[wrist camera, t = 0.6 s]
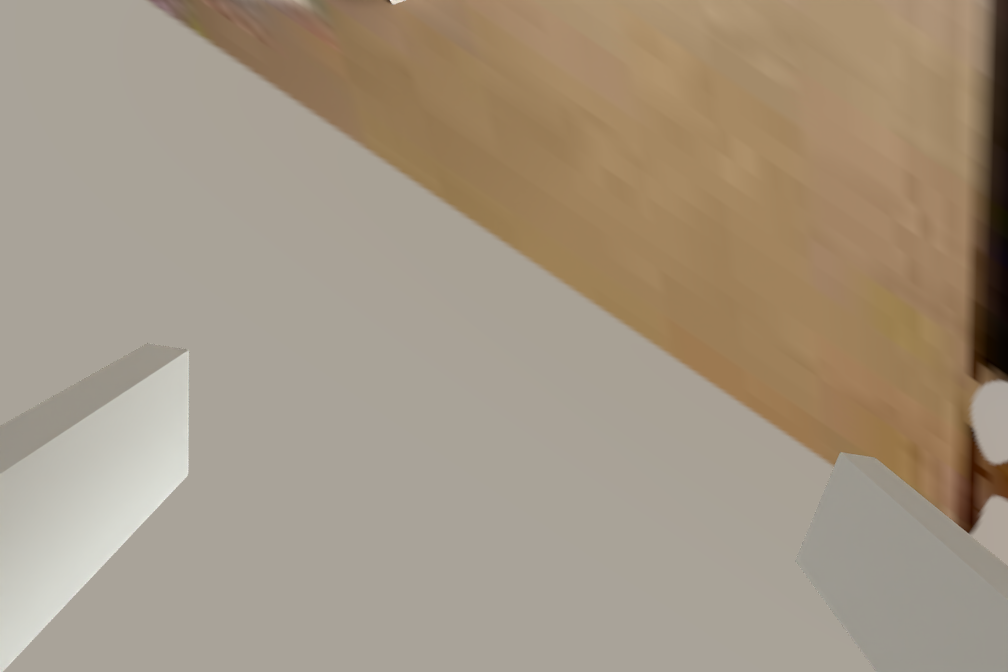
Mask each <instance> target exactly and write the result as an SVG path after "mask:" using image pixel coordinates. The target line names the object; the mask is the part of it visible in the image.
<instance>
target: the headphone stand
mask: <svg viewBox="0 0 1008 672" xmlns="http://www.w3.org/2000/svg"><path fill="white" fill-rule="evenodd" d="M390 1H391V3H392V4H393V5H394V4H397V3H399V2H402V1H405V0H390Z"/></svg>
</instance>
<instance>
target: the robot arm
mask: <svg viewBox="0 0 1008 672" xmlns="http://www.w3.org/2000/svg"><path fill="white" fill-rule="evenodd" d="M188 416H189V350H186V349H180V348H173V347H167V346H161V345H155V344H148V343H147V344H145V345H144V346H142V347H140V348H138V349H136V350H135V351H133V352H131V353H129V354H128V355H126V356H124V357H122V358H120V359H119V360H117V361H115V362H113V363H111V364H110V365H108V366H106V367H104V368H102V369H101V370H99V371H97V372H95V373H94V374H92V375H90V376H88V377H86V378H85V379H83V380H81V381H79V382H78V383H76V384H74V385H72V386H70V387H69V388H67V389H65V390H64V391H62V392H60V393H58V394H56V395H54V396H53V397H51V398H49V399H47V400H45V401H44V402H42V403H40V404H38V405H37V406H35V407H33V408H31V409H29V410H28V411H26V412H24V413H22V414H20V415H19V416H17V417H15V418H13V419H11V420H10V421H8V422H6V423H4V424H3V425H1V426H0V672H3V671H4V670H5V668H7V667H8V666H9V665H10V663H11V662H12V661H13V660H14V659H15V658H16V657H17V656H18V655H19V654H20V653H21V652H22V651H23V649H25V648H26V646H27V645H28V644H29V643H30V642H31V641H32V640H33V639H34V638H35V637H36V636H37V635H38V634H39V633H40V632H41V630H42V629H43V628H44V627H45V626H46V625H47V624H48V623H49V622H50V621H51V620H52V619H53V618H54V617H55V616H56V615H57V614H58V612H59V611H60V610H61V609H62V608H63V607H64V606H65V605H66V604H67V603H68V602H69V601H70V600H71V598H72V597H74V595H75V594H76V593H77V592H78V591H79V590H80V589H81V588H82V587H83V586H84V585H85V584H86V583H87V582H88V580H89V579H90V578H91V577H92V576H93V575H94V574H95V573H96V572H97V571H98V570H99V569H100V568H101V567H102V566H103V565H104V564H105V563H106V561H107V560H108V559H109V558H110V557H111V556H112V555H113V554H114V553H115V552H116V551H117V550H118V549H119V548H120V546H122V544H123V543H124V542H125V541H126V540H127V539H128V538H129V537H130V536H131V535H132V534H133V533H134V532H135V530H137V529H138V527H139V526H140V525H141V524H142V523H143V522H144V521H145V520H146V519H147V518H148V517H149V516H150V515H151V513H153V512H154V510H155V509H156V508H157V507H158V506H159V505H160V504H161V503H162V502H163V501H164V500H165V499H166V498H167V496H169V495H170V493H171V492H172V491H173V490H174V489H175V488H176V487H177V486H178V485H179V484H180V483H181V482H182V481H183V480H184V479H185V477H186V476H187V475H188V448H189V447H188V441H189V440H188V439H189V438H188V437H189V435H188V434H189V427H188V425H189V417H188ZM796 562H797V564H798V565H799V567H800V568H801V569H802V570H803V572H804V573H805V575H806V576H807V578H808V579H809V580H810V582H811V583H812V584H813V586H814V587H815V589H816V590H817V591H818V593H819V594H820V595H821V597H822V598H823V599H824V601H825V602H826V604H827V605H828V606H829V608H830V609H831V611H832V612H833V613H834V615H835V616H836V617H837V619H838V620H839V622H840V623H841V624H842V626H843V627H844V629H845V630H846V631H847V633H848V634H849V635H850V636H851V638H852V640H853V641H854V642H855V644H856V645H857V646H858V648H859V649H860V651H861V652H862V653H863V655H864V656H865V657H866V659H867V660H868V662H869V663H870V664H871V666H872V667H873V668H874V670H875V671H876V672H1008V566H1007V565H1006V564H1005V563H1003V562H1002V561H1001V560H1000V559H999V558H997V557H996V556H995V555H994V554H992V553H991V552H990V551H989V550H988V549H986V548H985V547H984V546H983V545H981V544H980V543H979V542H978V541H977V540H975V539H974V538H973V537H972V536H970V535H969V534H968V533H967V532H966V531H964V530H963V529H962V528H961V527H959V526H958V525H957V524H956V523H954V522H953V521H952V520H951V519H950V518H948V517H947V516H946V515H945V514H943V513H942V512H941V511H940V510H939V509H937V508H936V507H935V506H934V505H932V504H931V503H930V502H929V501H927V500H926V499H925V498H924V497H923V496H921V495H920V494H919V493H918V492H916V491H915V490H914V489H913V488H912V487H910V486H909V485H908V484H907V483H905V482H904V481H903V480H902V479H901V478H899V477H898V476H897V475H896V474H894V473H893V472H892V471H891V470H889V469H888V468H887V467H886V466H885V465H883V464H882V463H881V462H880V461H878V460H877V459H876V458H873V457H867V456H861V455H854V454H848V453H841V452H840V454H839V456H838V459H837V461H836V464H835V466H834V469H833V471H832V473H831V476H830V478H829V481H828V483H827V485H826V488H825V490H824V493H823V495H822V498H821V500H820V502H819V505H818V507H817V510H816V512H815V514H814V517H813V519H812V522H811V524H810V527H809V529H808V531H807V534H806V536H805V539H804V541H803V543H802V546H801V548H800V551H799V553H798V556H797V558H796Z"/></svg>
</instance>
